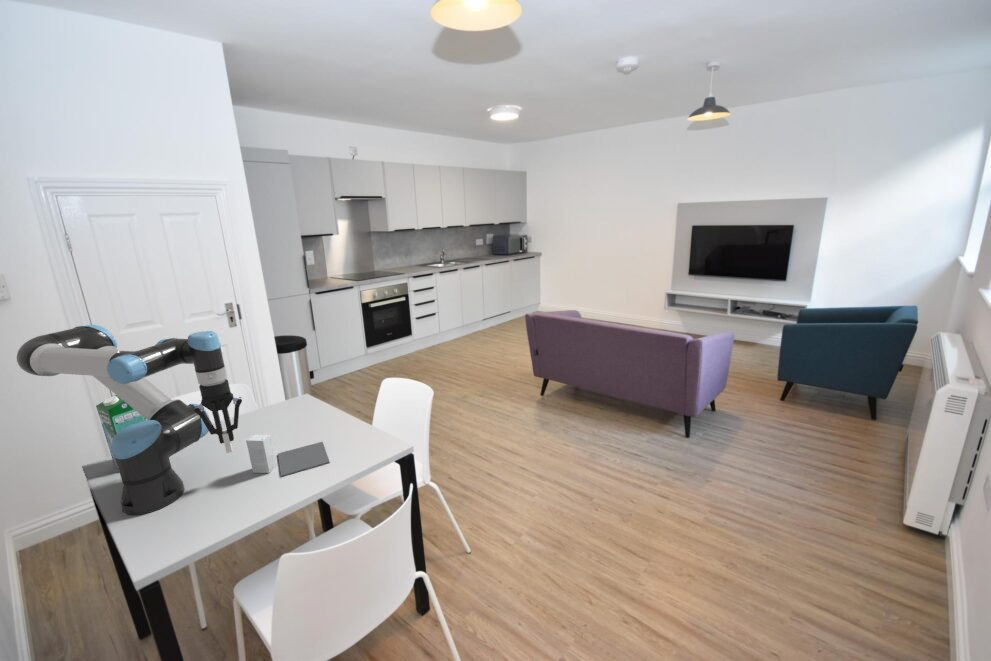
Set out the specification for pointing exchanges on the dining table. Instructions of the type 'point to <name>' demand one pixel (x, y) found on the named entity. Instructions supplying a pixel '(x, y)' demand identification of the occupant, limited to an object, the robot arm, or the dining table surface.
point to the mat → (302, 458)
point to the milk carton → (116, 418)
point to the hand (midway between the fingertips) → (229, 450)
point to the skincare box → (261, 453)
